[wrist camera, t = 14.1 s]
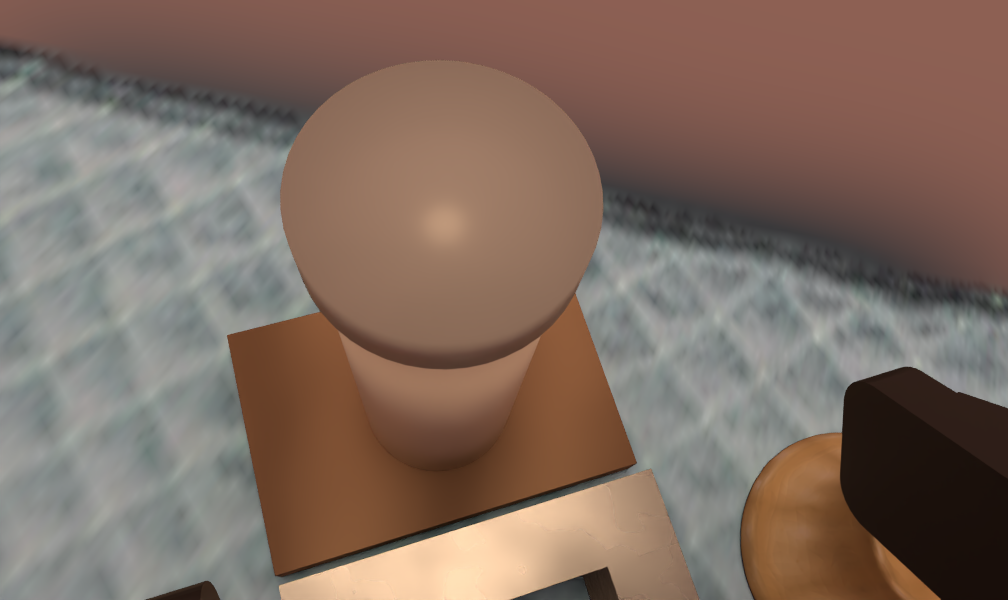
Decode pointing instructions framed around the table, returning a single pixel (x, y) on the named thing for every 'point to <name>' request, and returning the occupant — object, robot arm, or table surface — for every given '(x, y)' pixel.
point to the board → (381, 477)
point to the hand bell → (815, 534)
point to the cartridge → (440, 243)
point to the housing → (529, 554)
